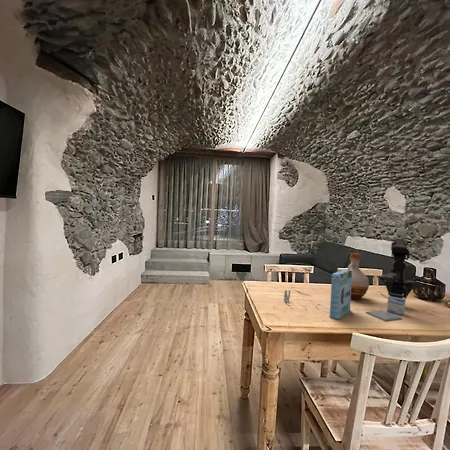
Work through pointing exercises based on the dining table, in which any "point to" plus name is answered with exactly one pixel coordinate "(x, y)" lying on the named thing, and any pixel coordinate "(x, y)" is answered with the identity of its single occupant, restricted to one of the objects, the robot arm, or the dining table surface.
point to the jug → (357, 278)
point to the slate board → (383, 315)
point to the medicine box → (396, 305)
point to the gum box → (340, 294)
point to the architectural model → (286, 297)
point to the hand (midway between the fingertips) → (396, 296)
